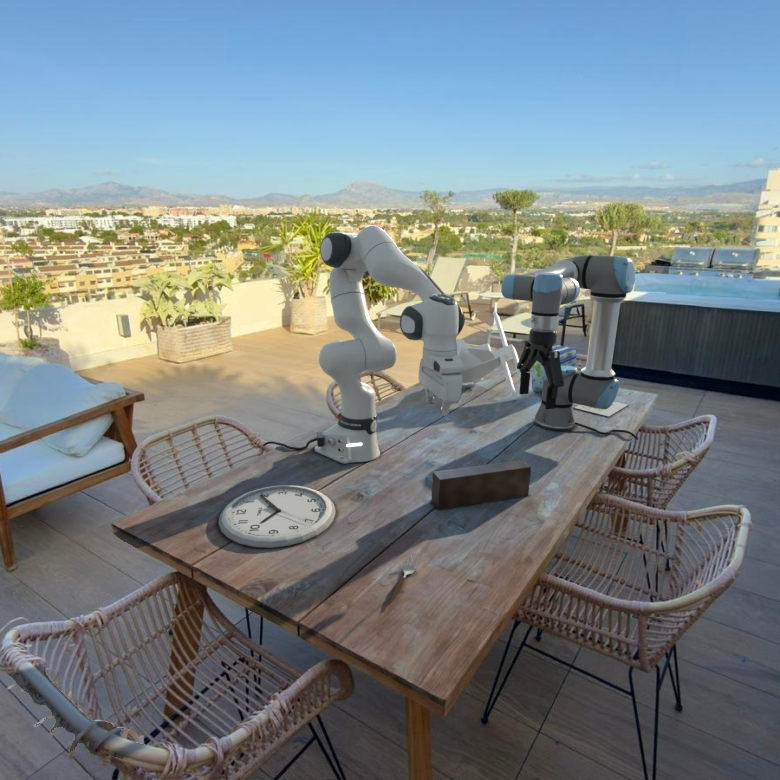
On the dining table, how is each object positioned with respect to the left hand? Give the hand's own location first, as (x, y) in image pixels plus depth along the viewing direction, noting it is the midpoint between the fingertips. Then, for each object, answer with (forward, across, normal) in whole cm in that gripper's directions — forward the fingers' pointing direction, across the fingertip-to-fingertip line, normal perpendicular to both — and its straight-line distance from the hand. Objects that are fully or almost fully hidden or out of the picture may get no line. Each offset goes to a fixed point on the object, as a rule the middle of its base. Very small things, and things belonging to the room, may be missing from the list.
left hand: (436, 408), depth 139 cm
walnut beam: (+27, +4, +13) cm, 30 cm away
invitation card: (+27, -53, +101) cm, 117 cm away
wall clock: (+27, -3, -43) cm, 50 cm away
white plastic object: (+27, -86, +59) cm, 108 cm away
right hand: (+2, -4, +33) cm, 34 cm away
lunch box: (+27, -79, +94) cm, 126 cm away
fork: (+27, +32, -20) cm, 47 cm away
